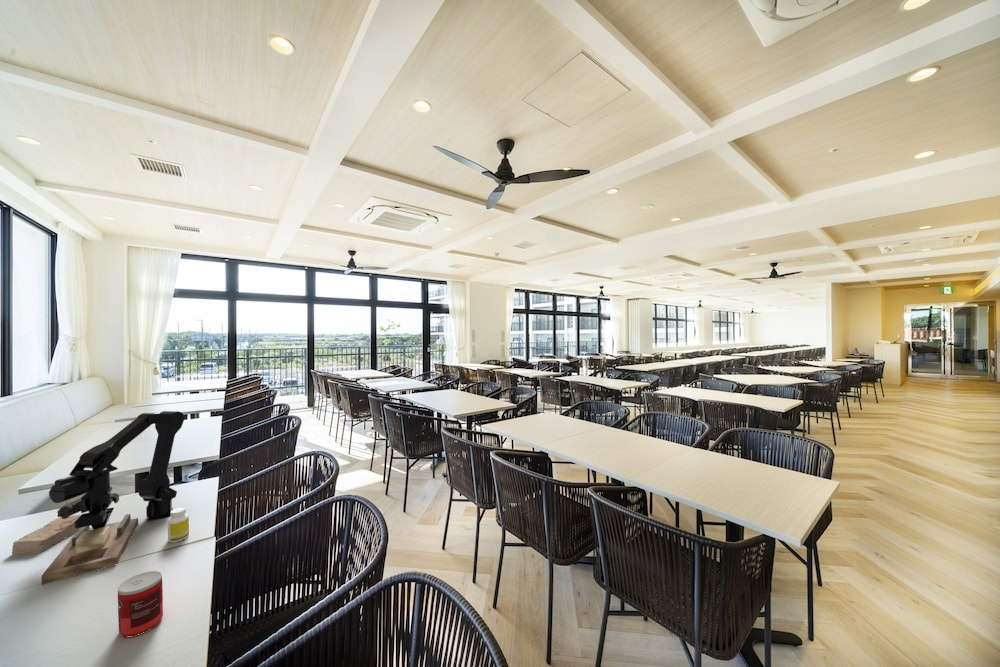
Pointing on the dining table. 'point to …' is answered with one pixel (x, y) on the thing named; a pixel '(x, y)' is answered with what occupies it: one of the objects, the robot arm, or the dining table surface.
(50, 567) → the lane board
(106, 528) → the block
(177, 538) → the supplement bottle
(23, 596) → the dining table surface
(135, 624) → the canned food
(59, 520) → the brick
